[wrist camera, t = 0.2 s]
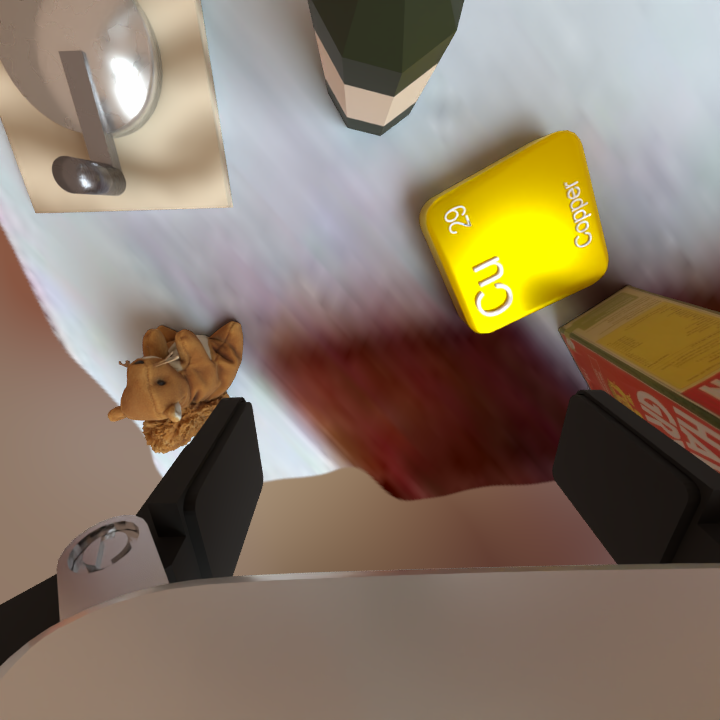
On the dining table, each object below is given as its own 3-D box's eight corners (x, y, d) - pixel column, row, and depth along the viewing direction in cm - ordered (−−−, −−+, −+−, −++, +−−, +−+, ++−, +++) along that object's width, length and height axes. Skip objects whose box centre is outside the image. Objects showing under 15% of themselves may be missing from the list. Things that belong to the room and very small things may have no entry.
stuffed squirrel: (242, 314, 40) (195, 359, 28) (250, 418, 46) (213, 493, 34) (155, 310, 40) (68, 353, 28) (173, 415, 46) (107, 489, 33)
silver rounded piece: (-28, -79, 26) (-145, -169, 20) (132, -84, 26) (64, -174, 20) (64, 198, 34) (-1, 195, 27) (188, 194, 34) (151, 191, 27)
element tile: (588, 268, 39) (618, 276, 35) (463, 329, 42) (476, 343, 37) (552, 129, 34) (581, 117, 29) (411, 208, 36) (419, 208, 32)
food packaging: (553, 329, 42) (799, 476, 19) (630, 281, 39) (1016, 379, 16) (596, 405, 46) (839, 601, 23) (668, 366, 44) (1015, 538, 21)
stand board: (-75, -133, 26) (-102, -155, 25) (178, -140, 26) (167, -162, 25) (47, 213, 36) (33, 213, 34) (233, 207, 36) (227, 207, 34)
